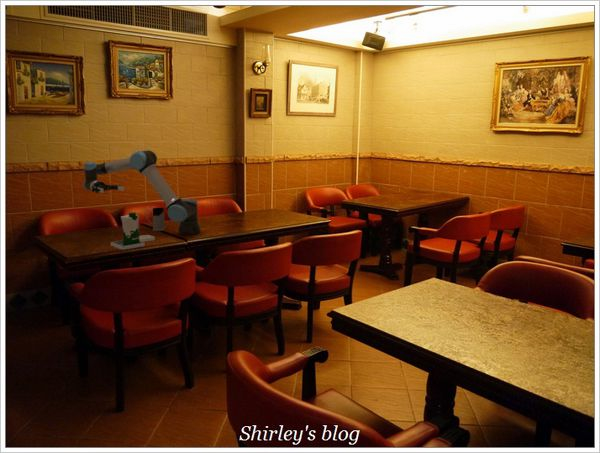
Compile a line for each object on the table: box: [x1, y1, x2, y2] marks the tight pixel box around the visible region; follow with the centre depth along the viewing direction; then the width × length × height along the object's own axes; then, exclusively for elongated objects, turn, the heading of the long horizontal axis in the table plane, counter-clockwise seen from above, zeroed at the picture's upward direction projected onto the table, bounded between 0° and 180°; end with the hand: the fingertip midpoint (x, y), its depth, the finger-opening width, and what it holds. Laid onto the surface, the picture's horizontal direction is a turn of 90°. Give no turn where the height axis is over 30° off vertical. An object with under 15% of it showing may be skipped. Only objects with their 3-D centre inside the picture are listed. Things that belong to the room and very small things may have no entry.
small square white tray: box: [139, 234, 156, 243], centre depth 330 cm, size 9×9×2 cm
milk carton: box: [120, 212, 140, 246], centre depth 313 cm, size 9×9×20 cm
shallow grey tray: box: [110, 239, 146, 251], centre depth 315 cm, size 15×15×2 cm
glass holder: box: [145, 207, 166, 232], centre depth 362 cm, size 9×14×15 cm, turn 78°
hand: (113, 189), depth 327 cm, fingers open, 13 cm apart
